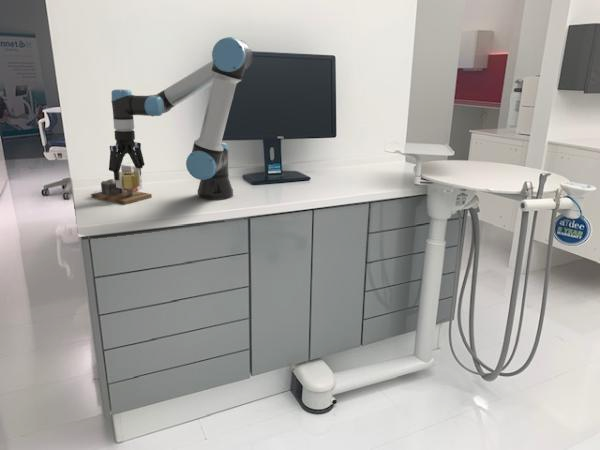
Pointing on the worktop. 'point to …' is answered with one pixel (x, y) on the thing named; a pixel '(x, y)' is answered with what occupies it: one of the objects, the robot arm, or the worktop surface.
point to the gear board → (119, 193)
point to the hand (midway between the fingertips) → (128, 185)
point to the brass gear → (130, 180)
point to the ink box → (130, 168)
